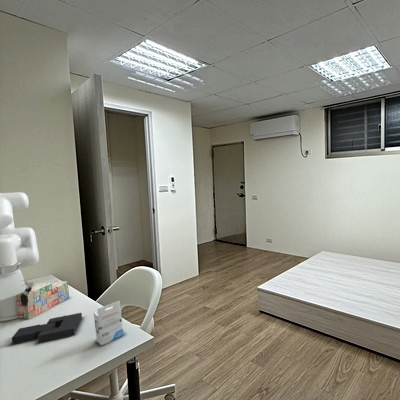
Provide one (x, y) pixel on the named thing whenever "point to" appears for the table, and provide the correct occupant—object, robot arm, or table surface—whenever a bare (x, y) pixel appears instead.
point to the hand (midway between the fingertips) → (10, 310)
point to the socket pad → (61, 327)
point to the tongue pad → (31, 332)
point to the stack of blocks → (42, 298)
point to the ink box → (108, 323)
